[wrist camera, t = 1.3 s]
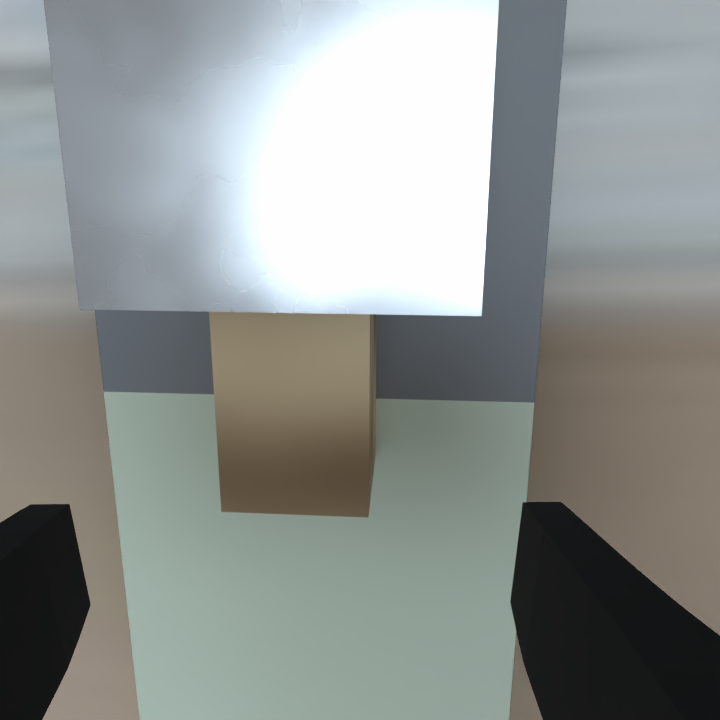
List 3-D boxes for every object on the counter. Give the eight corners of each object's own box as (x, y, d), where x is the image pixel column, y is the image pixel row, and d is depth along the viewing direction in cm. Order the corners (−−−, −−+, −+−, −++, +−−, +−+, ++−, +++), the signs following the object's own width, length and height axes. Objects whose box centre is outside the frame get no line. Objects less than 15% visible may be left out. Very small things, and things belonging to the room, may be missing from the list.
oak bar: (375, 456, 20) (368, 517, 17) (255, 452, 21) (221, 511, 17) (380, -66, 16) (373, -145, 13) (232, -62, 17) (181, -138, 13)
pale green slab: (497, 764, 25) (502, 798, 24) (160, 742, 26) (145, 774, 25) (590, -464, 15) (609, -533, 14) (42, -429, 16) (7, -489, 15)
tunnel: (460, 281, 19) (481, 316, 13) (168, 277, 19) (79, 309, 14) (470, 49, 17) (500, -16, 12) (151, 52, 18) (43, -7, 12)
